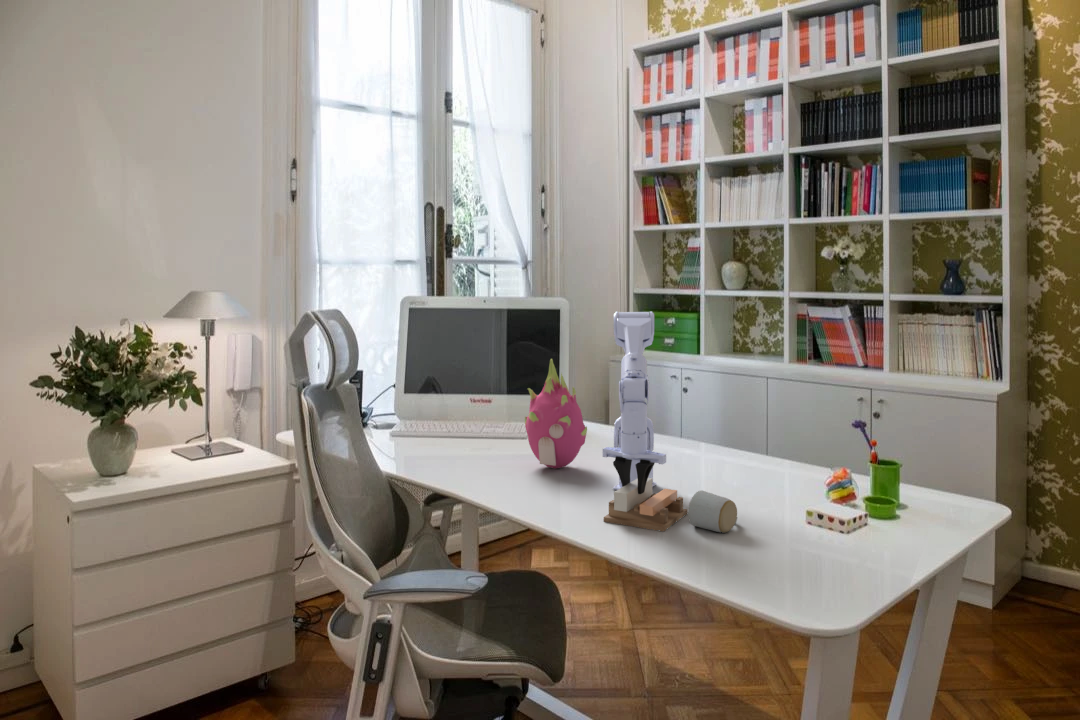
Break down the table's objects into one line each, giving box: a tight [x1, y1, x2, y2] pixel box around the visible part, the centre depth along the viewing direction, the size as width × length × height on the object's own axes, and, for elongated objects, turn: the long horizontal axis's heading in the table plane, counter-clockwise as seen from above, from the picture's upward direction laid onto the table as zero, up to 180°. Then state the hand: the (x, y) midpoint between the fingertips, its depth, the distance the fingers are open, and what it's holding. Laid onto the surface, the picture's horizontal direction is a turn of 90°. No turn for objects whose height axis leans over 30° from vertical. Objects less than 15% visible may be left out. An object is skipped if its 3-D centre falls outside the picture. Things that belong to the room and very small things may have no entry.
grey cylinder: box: [687, 490, 738, 534], centre depth 172 cm, size 11×8×8 cm
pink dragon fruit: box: [524, 358, 588, 469], centre depth 221 cm, size 18×14×30 cm
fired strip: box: [640, 488, 678, 516], centre depth 178 cm, size 14×3×2 cm, turn 149°
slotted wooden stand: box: [603, 493, 689, 532], centre depth 179 cm, size 14×14×4 cm
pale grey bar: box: [613, 478, 653, 512], centre depth 180 cm, size 14×3×4 cm, turn 149°
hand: (633, 491), depth 180 cm, fingers closed on pale grey bar, 3 cm apart
